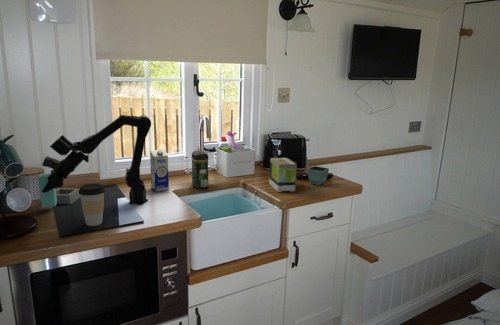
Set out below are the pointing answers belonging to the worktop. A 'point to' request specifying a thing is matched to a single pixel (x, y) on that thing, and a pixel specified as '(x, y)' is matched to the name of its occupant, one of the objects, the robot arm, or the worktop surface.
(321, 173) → the flower pot
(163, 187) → the milk carton
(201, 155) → the coffee jar
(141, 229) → the worktop surface
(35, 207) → the worktop surface
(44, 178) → the teal peg
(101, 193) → the coffee cup
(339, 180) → the worktop surface
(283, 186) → the tea box
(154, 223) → the worktop surface
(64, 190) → the socket block
